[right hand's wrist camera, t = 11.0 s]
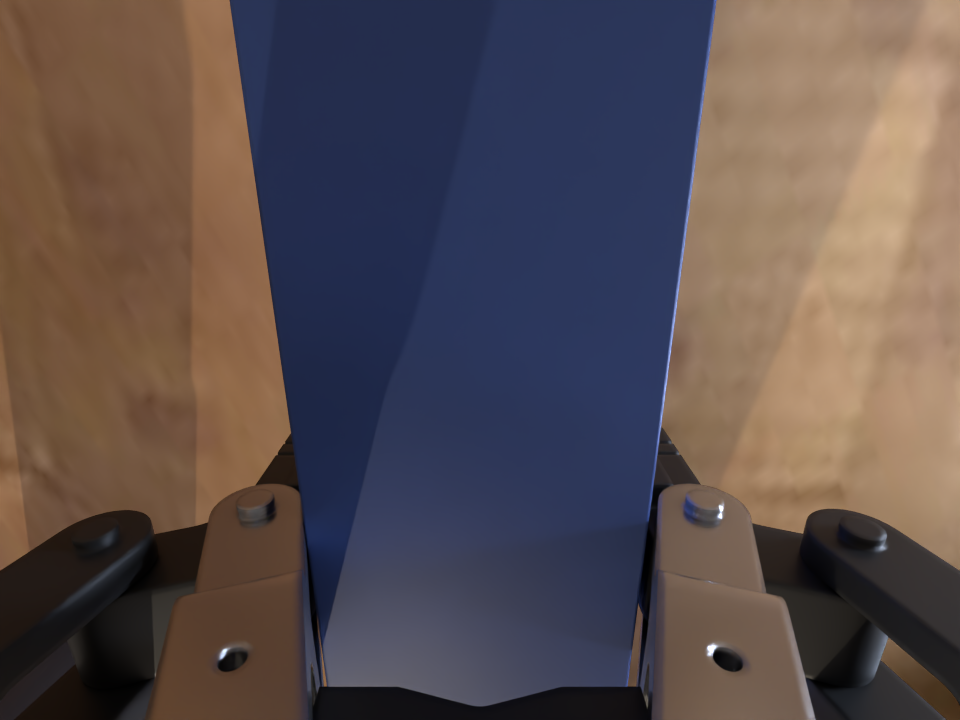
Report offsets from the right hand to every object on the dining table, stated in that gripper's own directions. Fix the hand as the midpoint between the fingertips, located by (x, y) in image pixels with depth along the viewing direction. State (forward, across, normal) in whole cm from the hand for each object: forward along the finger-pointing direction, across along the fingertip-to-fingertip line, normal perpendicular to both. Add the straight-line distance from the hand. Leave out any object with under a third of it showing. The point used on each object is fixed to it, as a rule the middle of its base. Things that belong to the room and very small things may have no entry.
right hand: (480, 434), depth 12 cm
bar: (+3, 0, +9) cm, 10 cm away
